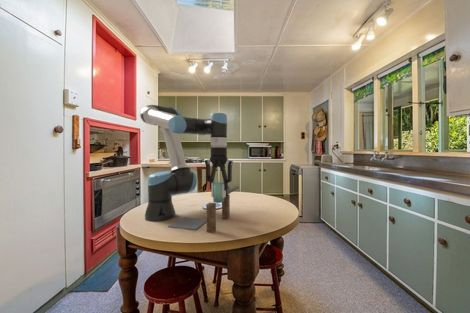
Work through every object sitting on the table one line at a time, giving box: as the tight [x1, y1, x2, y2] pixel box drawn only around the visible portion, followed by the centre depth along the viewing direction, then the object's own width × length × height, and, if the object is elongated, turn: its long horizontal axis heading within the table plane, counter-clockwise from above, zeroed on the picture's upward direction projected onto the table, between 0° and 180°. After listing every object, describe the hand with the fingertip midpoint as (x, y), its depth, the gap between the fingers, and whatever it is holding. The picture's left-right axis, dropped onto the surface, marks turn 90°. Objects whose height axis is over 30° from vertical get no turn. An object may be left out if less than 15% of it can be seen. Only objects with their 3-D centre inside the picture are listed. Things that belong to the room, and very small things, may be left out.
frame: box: [206, 194, 231, 234], centre depth 104 cm, size 3×21×12 cm, turn 162°
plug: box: [212, 181, 224, 204], centre depth 103 cm, size 5×5×9 cm
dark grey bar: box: [226, 185, 240, 195], centre depth 120 cm, size 3×22×4 cm, turn 162°
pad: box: [167, 216, 207, 231], centre depth 105 cm, size 14×14×1 cm
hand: (218, 196), depth 104 cm, fingers closed on plug, 5 cm apart
